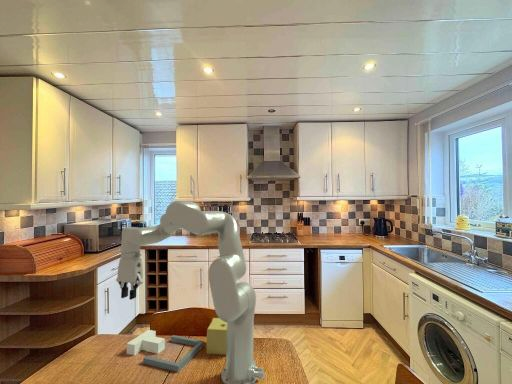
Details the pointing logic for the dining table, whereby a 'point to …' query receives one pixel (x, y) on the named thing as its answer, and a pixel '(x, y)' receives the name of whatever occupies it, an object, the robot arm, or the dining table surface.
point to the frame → (183, 361)
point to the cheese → (216, 337)
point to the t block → (146, 343)
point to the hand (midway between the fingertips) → (128, 297)
